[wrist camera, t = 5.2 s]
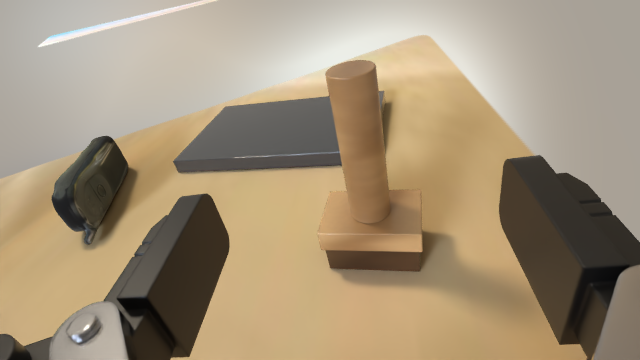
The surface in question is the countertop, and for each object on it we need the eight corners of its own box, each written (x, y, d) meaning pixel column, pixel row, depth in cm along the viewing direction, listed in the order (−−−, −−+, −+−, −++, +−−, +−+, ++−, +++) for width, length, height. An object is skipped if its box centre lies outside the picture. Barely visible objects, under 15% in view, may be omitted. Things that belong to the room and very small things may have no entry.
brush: (326, 270, 25) (279, 91, 18) (337, 226, 29) (301, 61, 21) (423, 274, 23) (414, 77, 16) (422, 227, 27) (414, 47, 20)
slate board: (178, 172, 41) (172, 161, 40) (228, 116, 52) (225, 106, 51) (375, 163, 35) (373, 150, 34) (385, 102, 46) (384, 90, 45)
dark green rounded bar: (87, 136, 42) (31, 208, 30) (113, 129, 42) (69, 197, 30) (109, 172, 45) (66, 252, 32) (133, 165, 45) (100, 242, 32)
